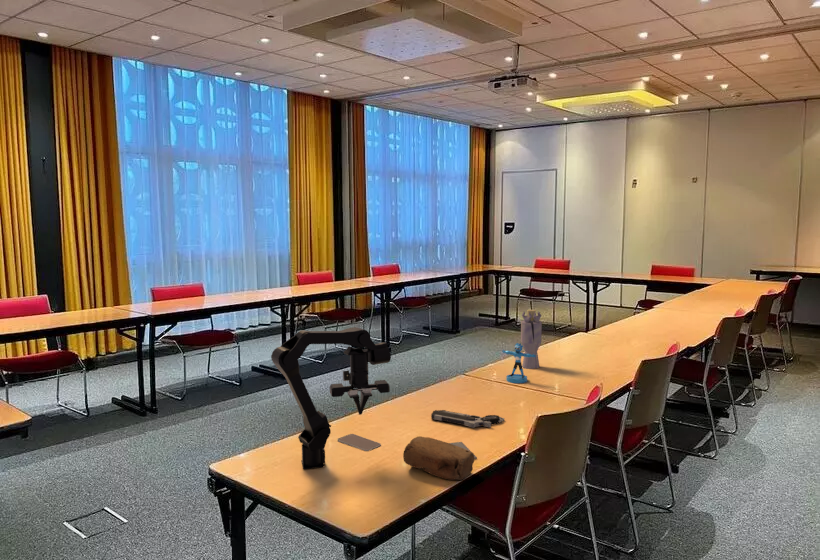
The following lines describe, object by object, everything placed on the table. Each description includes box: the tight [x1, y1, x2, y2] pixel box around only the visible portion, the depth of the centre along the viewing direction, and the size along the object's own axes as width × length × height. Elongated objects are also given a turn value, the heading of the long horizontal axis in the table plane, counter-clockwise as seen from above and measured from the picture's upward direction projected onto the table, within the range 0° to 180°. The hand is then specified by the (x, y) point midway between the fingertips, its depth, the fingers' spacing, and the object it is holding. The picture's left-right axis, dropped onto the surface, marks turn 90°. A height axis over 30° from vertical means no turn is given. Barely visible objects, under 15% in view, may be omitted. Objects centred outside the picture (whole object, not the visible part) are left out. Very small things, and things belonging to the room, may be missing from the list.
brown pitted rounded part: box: [402, 435, 475, 481], centre depth 177 cm, size 11×8×20 cm
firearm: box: [430, 409, 505, 429], centre depth 223 cm, size 3×24×15 cm
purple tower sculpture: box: [520, 309, 543, 370], centre depth 303 cm, size 10×10×30 cm
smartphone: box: [337, 433, 382, 452], centre depth 201 cm, size 7×1×15 cm
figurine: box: [501, 342, 536, 384], centre depth 277 cm, size 18×10×18 cm, turn 52°
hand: (360, 414), depth 191 cm, fingers closed
